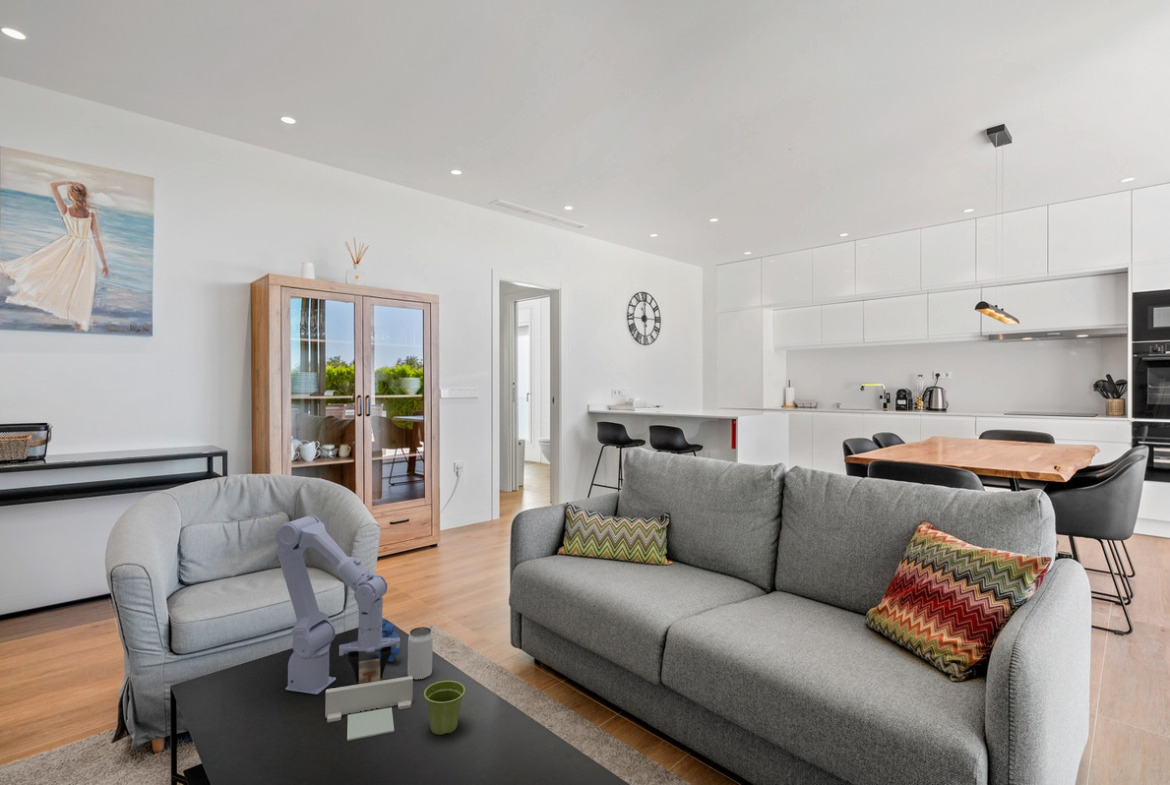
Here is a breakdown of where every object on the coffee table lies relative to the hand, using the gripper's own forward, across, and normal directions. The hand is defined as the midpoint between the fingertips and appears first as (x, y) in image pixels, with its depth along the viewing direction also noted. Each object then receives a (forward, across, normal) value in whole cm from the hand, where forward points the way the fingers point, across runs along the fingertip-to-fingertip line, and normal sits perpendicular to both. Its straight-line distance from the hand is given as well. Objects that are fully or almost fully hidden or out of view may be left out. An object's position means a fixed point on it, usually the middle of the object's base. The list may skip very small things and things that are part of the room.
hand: (369, 678), depth 150 cm
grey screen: (+4, 0, -7) cm, 8 cm away
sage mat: (+4, 0, -14) cm, 14 cm away
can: (+4, +13, +6) cm, 15 cm away
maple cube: (+2, 0, 0) cm, 2 cm away
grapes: (+4, +4, +17) cm, 18 cm away
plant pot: (+4, +16, -21) cm, 27 cm away
